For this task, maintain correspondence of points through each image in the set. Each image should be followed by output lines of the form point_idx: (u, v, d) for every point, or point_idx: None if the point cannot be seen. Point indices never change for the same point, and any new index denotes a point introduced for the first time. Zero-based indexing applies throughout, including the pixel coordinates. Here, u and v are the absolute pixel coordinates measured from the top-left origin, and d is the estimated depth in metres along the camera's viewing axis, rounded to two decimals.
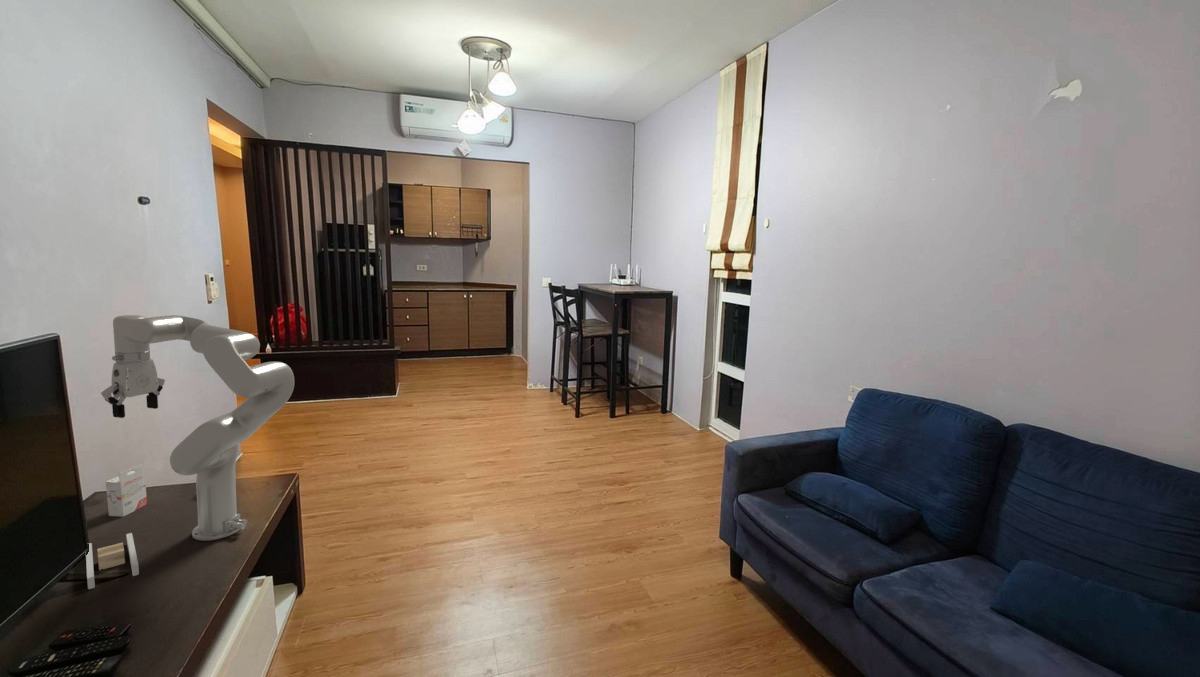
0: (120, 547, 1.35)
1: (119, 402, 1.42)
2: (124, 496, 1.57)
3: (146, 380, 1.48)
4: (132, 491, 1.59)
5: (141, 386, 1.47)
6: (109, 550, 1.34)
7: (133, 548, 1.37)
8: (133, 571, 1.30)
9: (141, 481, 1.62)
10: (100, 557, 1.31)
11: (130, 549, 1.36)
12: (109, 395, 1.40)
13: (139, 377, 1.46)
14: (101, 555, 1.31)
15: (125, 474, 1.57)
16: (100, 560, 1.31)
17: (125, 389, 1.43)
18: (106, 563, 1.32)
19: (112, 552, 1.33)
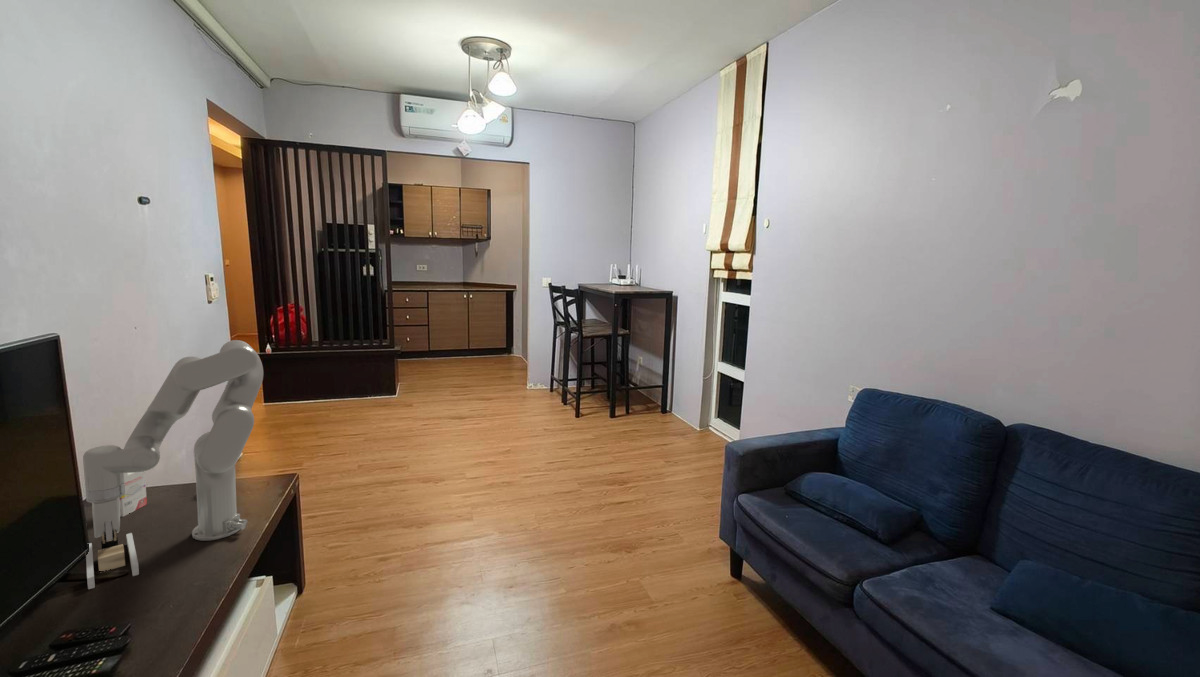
0: (120, 549, 1.34)
1: None
2: (124, 496, 1.57)
3: None
4: (132, 491, 1.59)
5: None
6: (109, 552, 1.33)
7: (133, 548, 1.37)
8: (133, 571, 1.30)
9: (141, 481, 1.62)
10: (100, 559, 1.30)
11: (130, 549, 1.36)
12: None
13: None
14: (101, 557, 1.30)
15: (125, 474, 1.57)
16: (100, 562, 1.30)
17: None
18: (106, 565, 1.31)
19: (112, 553, 1.32)
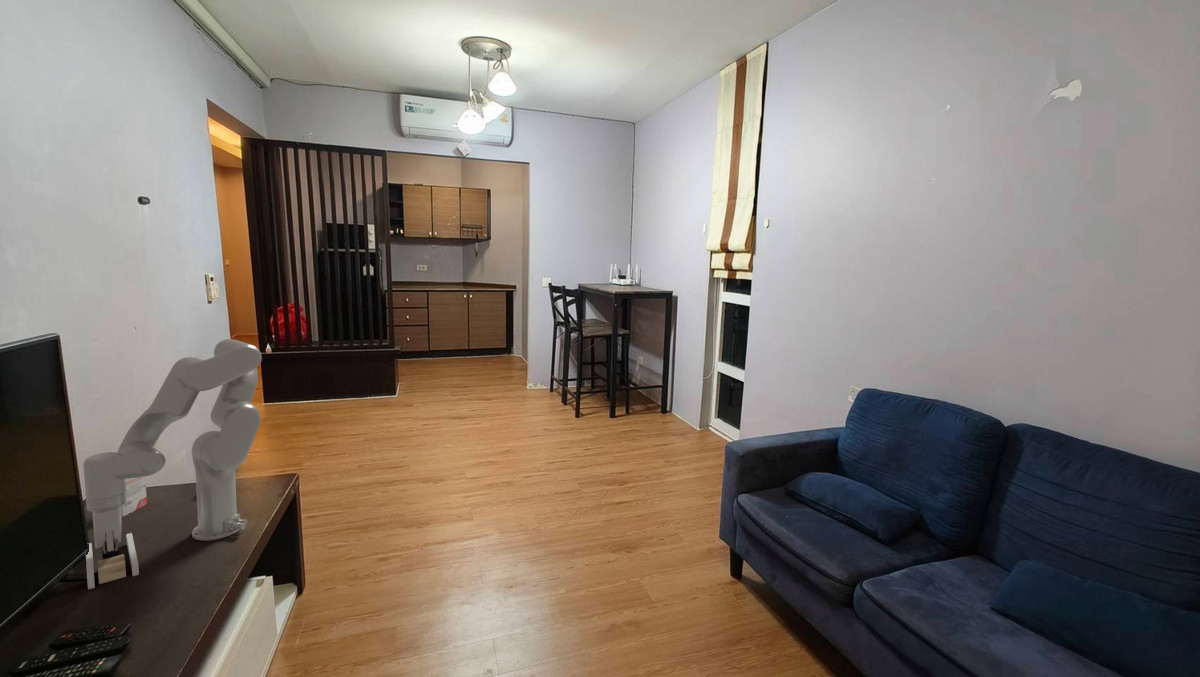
0: (121, 559, 1.30)
1: None
2: None
3: (94, 530, 1.28)
4: (132, 491, 1.59)
5: None
6: (109, 563, 1.28)
7: (133, 548, 1.37)
8: (133, 571, 1.30)
9: (141, 481, 1.62)
10: (100, 570, 1.26)
11: (130, 549, 1.36)
12: None
13: None
14: (101, 568, 1.26)
15: None
16: (100, 573, 1.26)
17: None
18: (106, 576, 1.27)
19: (113, 564, 1.28)
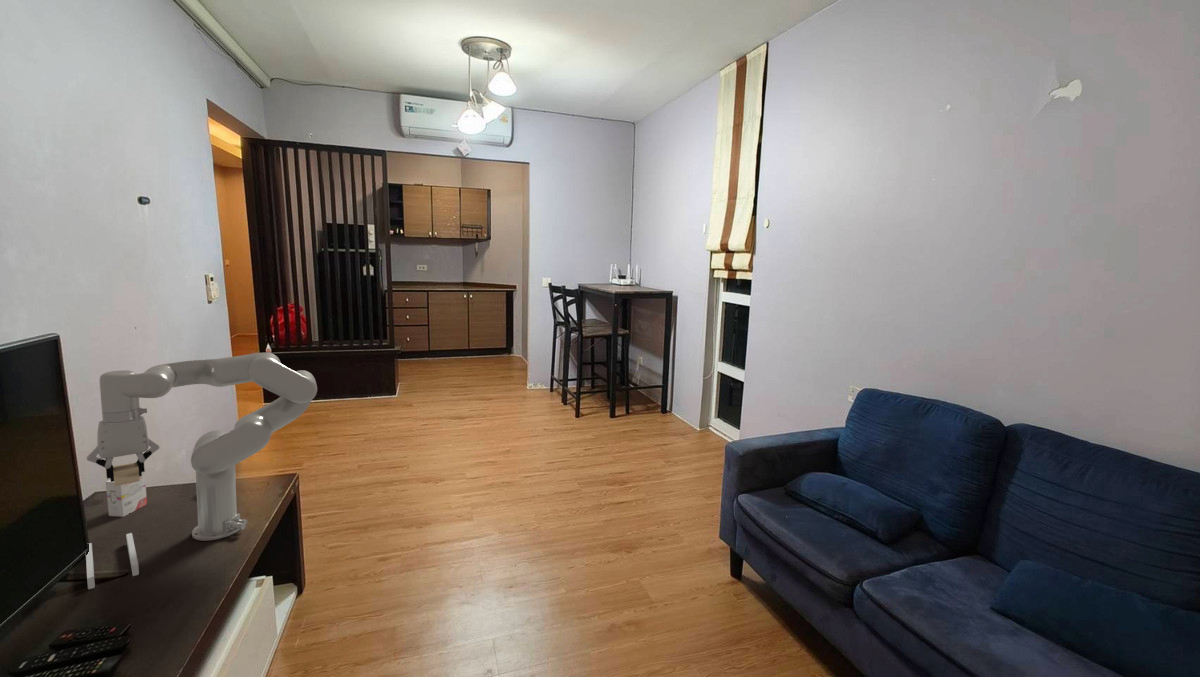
0: (135, 465, 1.39)
1: None
2: (124, 496, 1.57)
3: None
4: (132, 491, 1.59)
5: None
6: (124, 467, 1.37)
7: (133, 548, 1.37)
8: (133, 571, 1.30)
9: (141, 481, 1.62)
10: (115, 473, 1.35)
11: (130, 549, 1.36)
12: None
13: None
14: (117, 471, 1.35)
15: None
16: (116, 476, 1.35)
17: None
18: (121, 479, 1.36)
19: (127, 468, 1.37)
